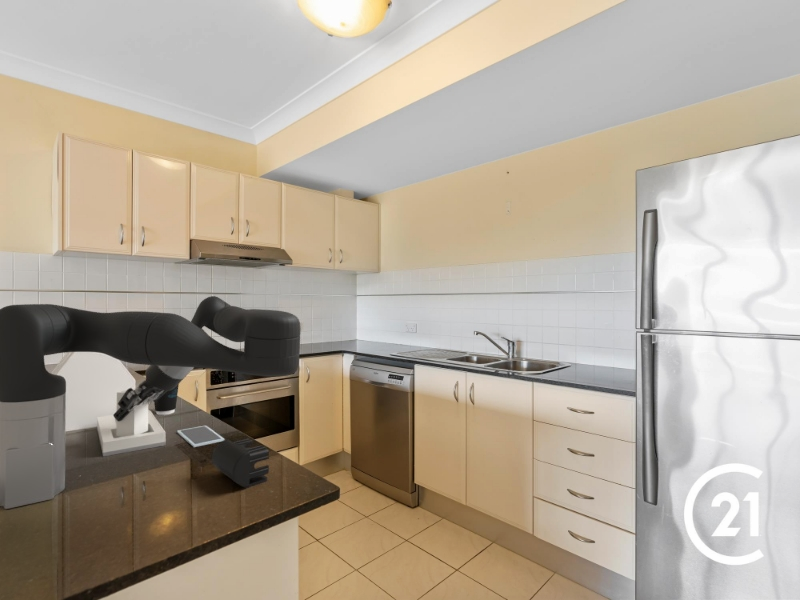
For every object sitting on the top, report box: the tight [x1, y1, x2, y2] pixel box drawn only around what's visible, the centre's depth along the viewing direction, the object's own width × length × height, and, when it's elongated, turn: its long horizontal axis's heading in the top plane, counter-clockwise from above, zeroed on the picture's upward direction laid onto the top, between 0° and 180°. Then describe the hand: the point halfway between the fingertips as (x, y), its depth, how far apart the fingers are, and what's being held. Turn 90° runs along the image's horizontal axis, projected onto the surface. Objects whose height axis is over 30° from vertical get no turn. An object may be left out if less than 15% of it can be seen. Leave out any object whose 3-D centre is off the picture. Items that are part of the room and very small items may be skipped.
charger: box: [116, 388, 149, 436], centre depth 100 cm, size 5×4×10 cm
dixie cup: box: [153, 383, 180, 416], centre depth 126 cm, size 8×8×11 cm
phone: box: [176, 425, 226, 448], centre depth 105 cm, size 14×7×1 cm, turn 42°
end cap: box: [211, 438, 270, 489], centre depth 81 cm, size 10×7×7 cm
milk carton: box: [50, 352, 136, 432], centre depth 117 cm, size 19×15×25 cm
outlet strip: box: [96, 409, 167, 457], centre depth 105 cm, size 24×12×3 cm, turn 38°
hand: (125, 415), depth 100 cm, fingers closed on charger, 4 cm apart
